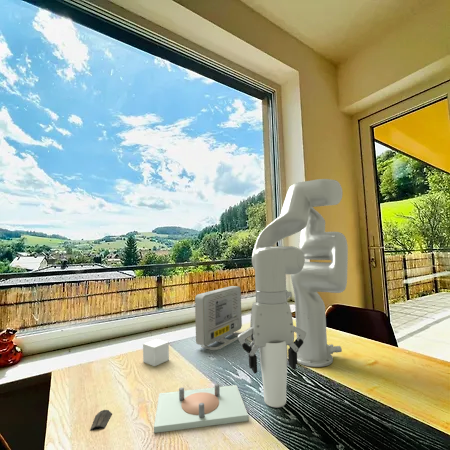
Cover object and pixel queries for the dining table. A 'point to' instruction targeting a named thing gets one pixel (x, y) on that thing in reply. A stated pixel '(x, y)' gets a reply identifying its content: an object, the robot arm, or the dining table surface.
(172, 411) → the pin nest plate
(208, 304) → the network device
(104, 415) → the block
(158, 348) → the white cube
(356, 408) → the dining table surface
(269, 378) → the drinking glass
